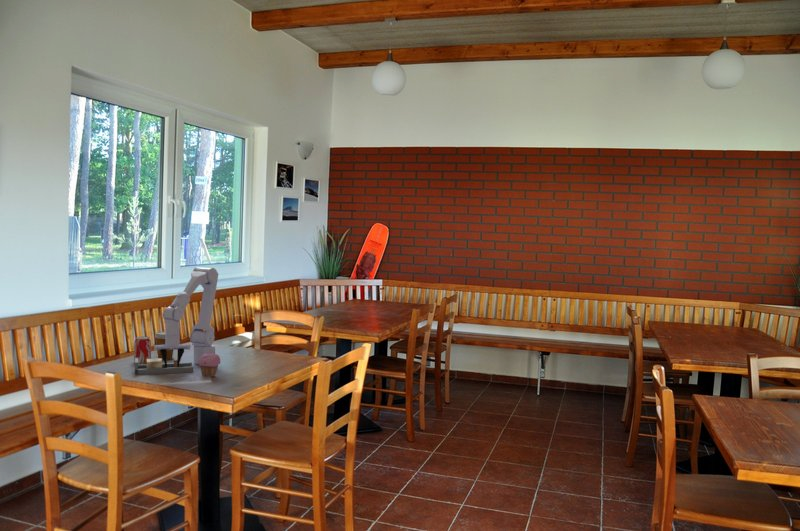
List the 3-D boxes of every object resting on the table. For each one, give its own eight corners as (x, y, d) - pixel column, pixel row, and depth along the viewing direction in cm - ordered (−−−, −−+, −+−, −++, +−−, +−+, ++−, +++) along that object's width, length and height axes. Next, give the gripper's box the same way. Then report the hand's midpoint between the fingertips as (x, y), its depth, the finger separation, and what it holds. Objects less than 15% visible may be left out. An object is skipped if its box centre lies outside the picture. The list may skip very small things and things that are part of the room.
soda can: (145, 366, 292) (145, 339, 291) (130, 365, 293) (130, 338, 292) (154, 363, 299) (154, 336, 298) (139, 361, 300) (140, 335, 299)
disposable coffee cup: (180, 358, 311) (180, 332, 311) (163, 361, 303) (163, 335, 303) (167, 355, 316) (167, 330, 316) (150, 358, 308) (150, 332, 308)
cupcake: (202, 373, 281) (202, 350, 281) (222, 374, 281) (223, 351, 280) (195, 378, 272) (195, 354, 272) (216, 379, 272) (216, 355, 272)
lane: (191, 369, 289) (191, 355, 289) (193, 374, 280) (193, 360, 280) (135, 371, 281) (135, 357, 280) (134, 376, 272) (135, 362, 271)
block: (176, 368, 285) (176, 357, 285) (177, 371, 280) (177, 360, 279) (146, 369, 281) (146, 358, 280) (146, 372, 275) (146, 361, 275)
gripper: (154, 336, 274) (153, 369, 275) (191, 336, 280) (190, 367, 280) (154, 334, 281) (153, 365, 282) (189, 333, 286) (189, 364, 287)
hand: (171, 366), depth 281 cm, fingers closed on block, 4 cm apart
